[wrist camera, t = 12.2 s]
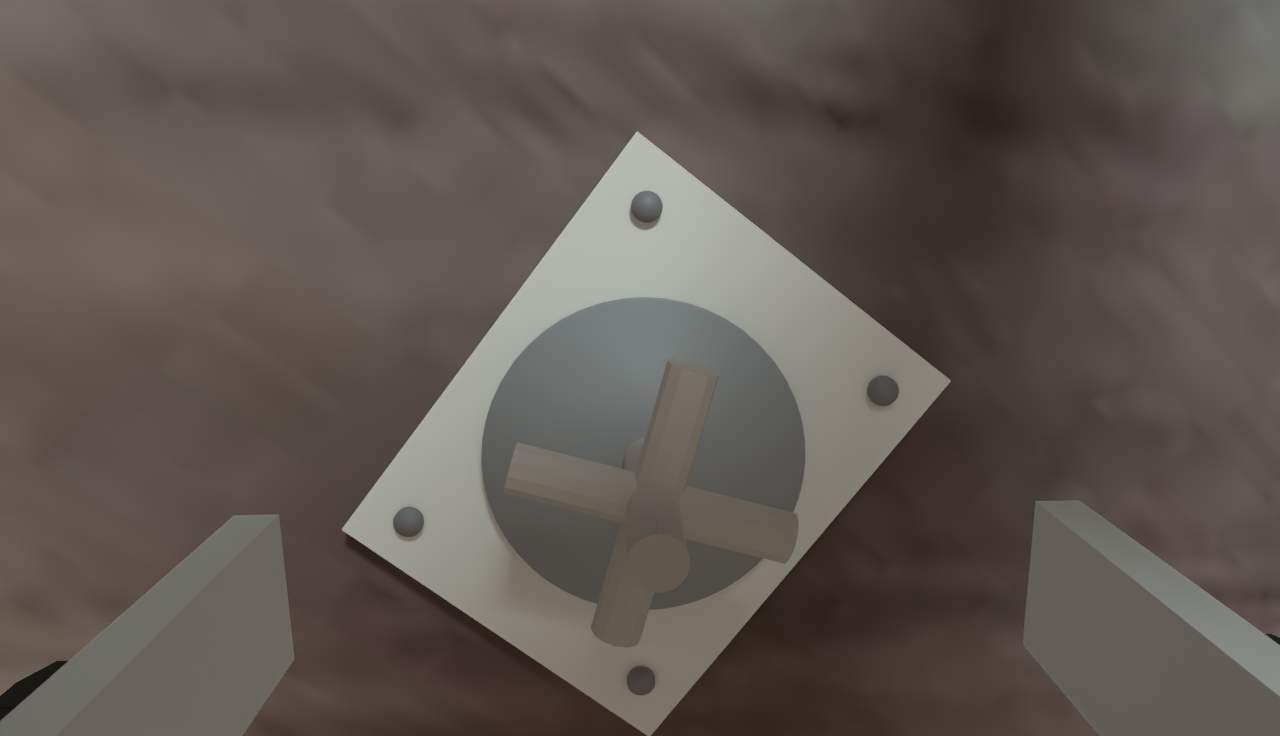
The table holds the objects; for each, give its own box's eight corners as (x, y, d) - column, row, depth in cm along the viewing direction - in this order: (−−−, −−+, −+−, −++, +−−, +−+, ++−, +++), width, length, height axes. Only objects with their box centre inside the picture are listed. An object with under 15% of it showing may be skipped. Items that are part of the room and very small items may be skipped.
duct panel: (636, 132, 34) (637, 130, 33) (942, 375, 37) (957, 383, 35) (348, 520, 37) (336, 535, 36) (648, 723, 39) (649, 745, 38)
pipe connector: (802, 373, 35) (875, 446, 25) (730, 600, 37) (772, 751, 27) (556, 307, 34) (532, 355, 24) (495, 542, 36) (450, 675, 26)
